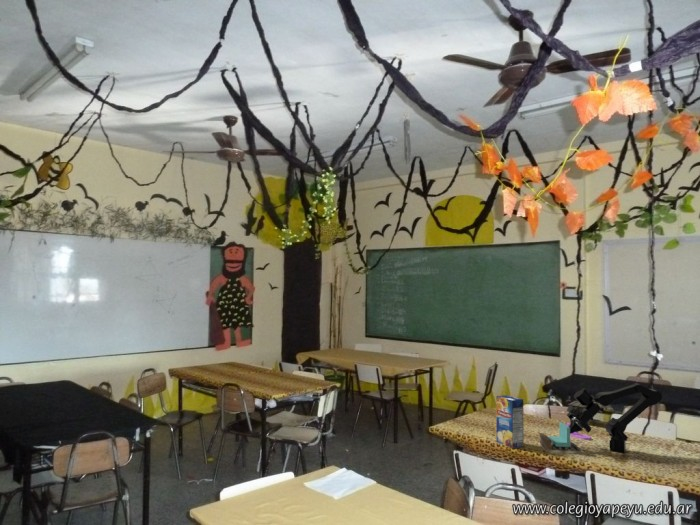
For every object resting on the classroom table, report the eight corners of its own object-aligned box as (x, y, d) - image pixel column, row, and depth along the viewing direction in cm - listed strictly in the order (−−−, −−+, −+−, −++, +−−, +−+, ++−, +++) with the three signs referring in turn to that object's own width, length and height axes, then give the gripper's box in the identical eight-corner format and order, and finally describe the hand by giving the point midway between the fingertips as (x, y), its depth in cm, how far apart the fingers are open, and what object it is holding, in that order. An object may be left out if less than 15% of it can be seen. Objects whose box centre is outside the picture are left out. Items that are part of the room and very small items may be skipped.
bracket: (565, 435, 286) (565, 422, 286) (572, 433, 289) (571, 421, 289) (587, 441, 275) (586, 427, 275) (593, 439, 278) (593, 426, 278)
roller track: (573, 445, 265) (573, 434, 265) (583, 453, 252) (583, 441, 252) (538, 444, 266) (538, 432, 266) (546, 452, 253) (546, 439, 253)
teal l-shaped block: (562, 440, 264) (562, 422, 265) (570, 446, 253) (569, 427, 254) (548, 440, 265) (548, 421, 265) (555, 446, 254) (555, 427, 254)
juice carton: (496, 442, 269) (496, 396, 271) (507, 440, 272) (507, 395, 274) (512, 448, 258) (512, 400, 260) (523, 446, 262) (523, 399, 263)
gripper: (570, 397, 269) (549, 417, 269) (584, 404, 251) (561, 426, 251) (585, 412, 268) (564, 433, 268) (601, 421, 250) (578, 443, 250)
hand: (566, 433), depth 259 cm, fingers closed, pressing on teal l-shaped block
